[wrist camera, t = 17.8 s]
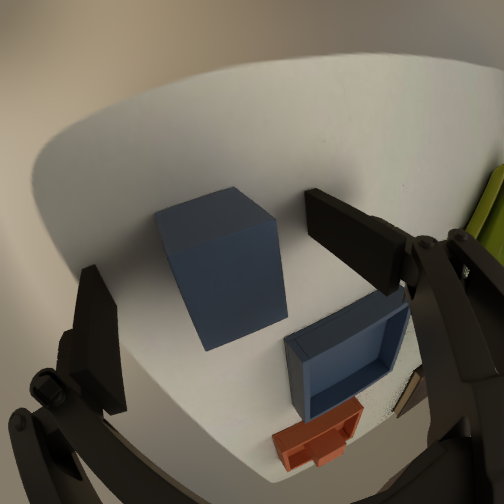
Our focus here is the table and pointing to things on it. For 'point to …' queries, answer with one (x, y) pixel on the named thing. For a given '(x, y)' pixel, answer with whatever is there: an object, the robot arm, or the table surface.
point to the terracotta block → (325, 447)
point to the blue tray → (345, 352)
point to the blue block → (225, 264)
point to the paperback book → (412, 392)
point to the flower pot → (490, 217)
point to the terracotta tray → (316, 432)
